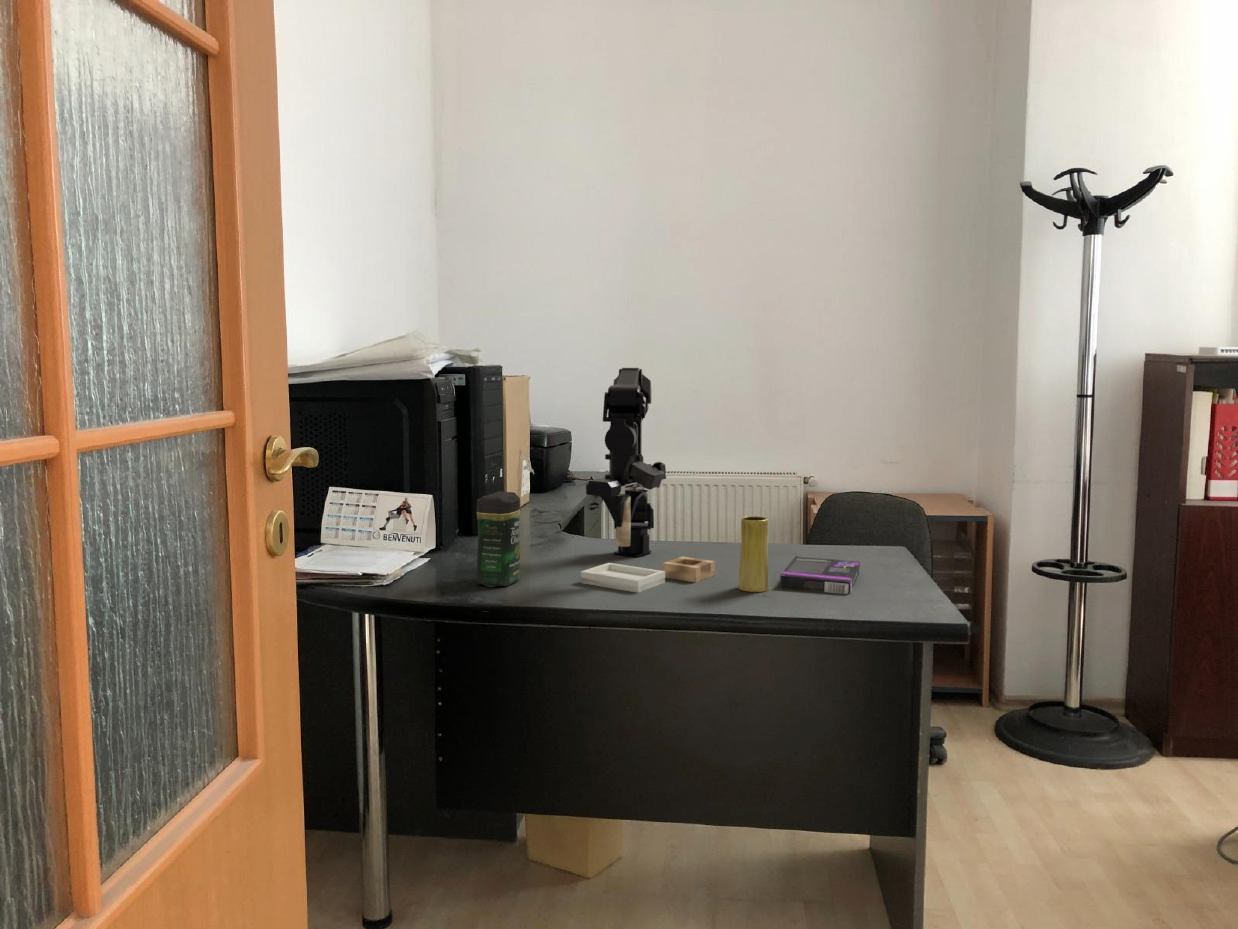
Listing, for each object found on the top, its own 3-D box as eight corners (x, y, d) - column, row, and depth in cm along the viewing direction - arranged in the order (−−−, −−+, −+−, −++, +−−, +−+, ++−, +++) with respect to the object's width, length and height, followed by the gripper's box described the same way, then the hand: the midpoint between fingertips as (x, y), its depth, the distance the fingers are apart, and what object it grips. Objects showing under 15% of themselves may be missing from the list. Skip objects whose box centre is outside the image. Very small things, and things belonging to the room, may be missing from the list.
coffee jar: (507, 589, 196) (506, 496, 194) (471, 586, 199) (470, 495, 196) (526, 578, 205) (525, 490, 203) (491, 575, 208) (490, 488, 206)
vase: (732, 586, 199) (733, 516, 198) (759, 584, 202) (760, 515, 200) (746, 593, 194) (748, 521, 192) (774, 591, 196) (776, 520, 194)
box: (849, 599, 194) (860, 575, 212) (850, 581, 193) (861, 559, 211) (778, 591, 198) (795, 569, 217) (779, 574, 198) (796, 553, 216)
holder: (662, 577, 207) (662, 563, 207) (682, 570, 214) (682, 556, 213) (696, 582, 203) (696, 568, 202) (714, 575, 209) (715, 561, 209)
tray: (580, 583, 202) (580, 571, 201) (608, 573, 210) (608, 562, 210) (638, 592, 194) (638, 580, 194) (665, 582, 202) (665, 571, 202)
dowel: (614, 545, 201) (614, 496, 199) (621, 543, 203) (621, 495, 202) (625, 547, 199) (625, 498, 198) (633, 544, 201) (633, 496, 200)
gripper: (631, 456, 186) (631, 537, 188) (681, 447, 202) (681, 523, 204) (583, 452, 193) (583, 531, 195) (636, 444, 208) (635, 517, 210)
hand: (623, 525), depth 201 cm, fingers closed on dowel, 3 cm apart
